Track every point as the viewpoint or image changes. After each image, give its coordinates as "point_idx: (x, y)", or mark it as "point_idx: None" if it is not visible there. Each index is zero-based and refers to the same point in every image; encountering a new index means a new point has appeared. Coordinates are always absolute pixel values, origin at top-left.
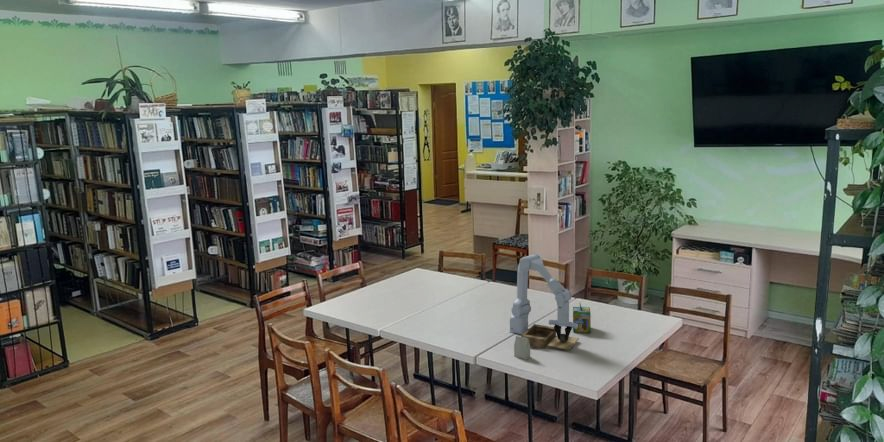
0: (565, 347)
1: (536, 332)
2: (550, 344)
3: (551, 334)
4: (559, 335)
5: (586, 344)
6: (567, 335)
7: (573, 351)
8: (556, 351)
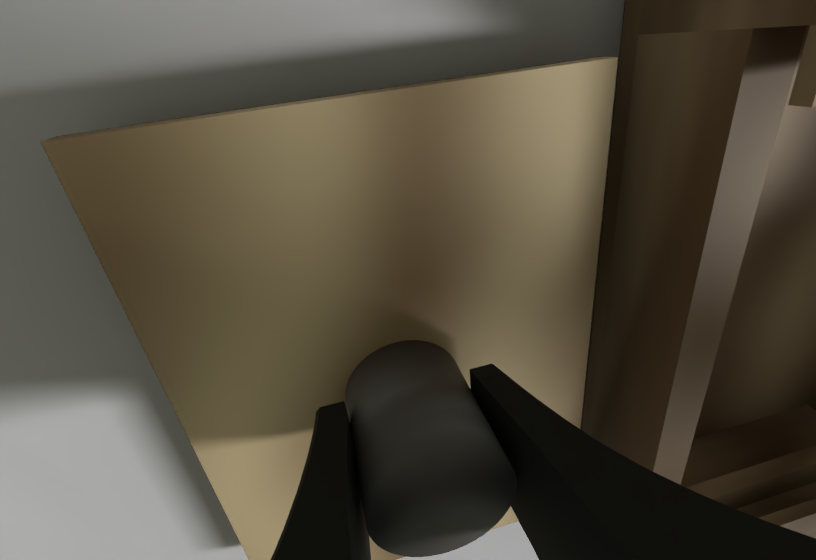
0: (185, 168)
1: (807, 413)
2: (564, 127)
3: (663, 428)
4: (513, 444)
5: (114, 554)
6: (286, 529)
7: (50, 228)
8: (348, 8)
